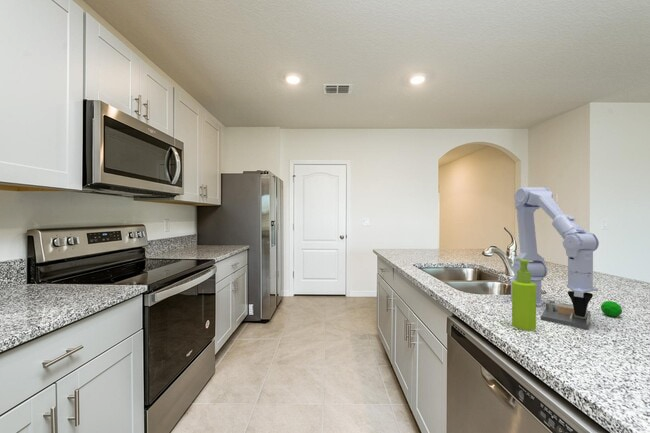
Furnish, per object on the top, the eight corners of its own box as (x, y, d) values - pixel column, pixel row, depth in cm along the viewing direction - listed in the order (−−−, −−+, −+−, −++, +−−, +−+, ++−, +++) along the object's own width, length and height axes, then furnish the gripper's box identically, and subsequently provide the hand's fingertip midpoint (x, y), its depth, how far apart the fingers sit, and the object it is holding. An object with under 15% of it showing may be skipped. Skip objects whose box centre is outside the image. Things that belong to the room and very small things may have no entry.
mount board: (540, 319, 89) (540, 307, 89) (548, 306, 102) (548, 296, 102) (588, 329, 81) (588, 316, 81) (590, 314, 94) (590, 303, 94)
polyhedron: (597, 314, 94) (597, 300, 94) (605, 312, 96) (605, 298, 96) (617, 319, 89) (617, 304, 89) (625, 317, 91) (625, 302, 91)
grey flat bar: (550, 306, 94) (550, 304, 94) (551, 304, 96) (551, 302, 96) (587, 313, 88) (587, 311, 88) (587, 311, 90) (587, 308, 90)
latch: (574, 317, 88) (574, 305, 88) (575, 312, 92) (575, 302, 92) (585, 319, 86) (585, 307, 86) (586, 314, 90) (586, 303, 90)
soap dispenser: (530, 323, 86) (530, 258, 86) (539, 331, 80) (539, 261, 80) (508, 320, 88) (508, 257, 88) (515, 329, 82) (515, 260, 82)
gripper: (597, 277, 78) (597, 325, 78) (598, 270, 89) (598, 313, 89) (564, 273, 83) (564, 319, 83) (569, 267, 94) (569, 308, 94)
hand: (580, 315), depth 86 cm, fingers closed
